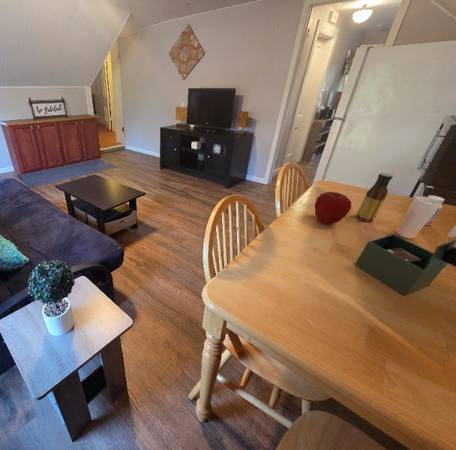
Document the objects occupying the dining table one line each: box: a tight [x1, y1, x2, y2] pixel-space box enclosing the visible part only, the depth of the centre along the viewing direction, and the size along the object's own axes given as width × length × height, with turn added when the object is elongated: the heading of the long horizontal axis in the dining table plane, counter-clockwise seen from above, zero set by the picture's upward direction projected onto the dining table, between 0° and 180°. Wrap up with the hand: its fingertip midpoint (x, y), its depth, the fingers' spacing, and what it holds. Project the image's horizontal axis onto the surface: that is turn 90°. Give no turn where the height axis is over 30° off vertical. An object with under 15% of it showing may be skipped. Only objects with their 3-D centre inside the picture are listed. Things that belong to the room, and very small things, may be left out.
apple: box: [314, 191, 352, 225], centre depth 98 cm, size 12×12×13 cm
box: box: [387, 248, 422, 266], centre depth 73 cm, size 6×6×7 cm
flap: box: [425, 239, 456, 269], centre depth 63 cm, size 7×12×1 cm
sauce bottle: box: [356, 172, 393, 223], centre depth 99 cm, size 7×6×20 cm
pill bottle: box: [424, 195, 445, 226], centre depth 99 cm, size 6×6×11 cm
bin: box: [354, 233, 449, 297], centre depth 72 cm, size 14×12×9 cm
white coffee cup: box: [396, 195, 442, 240], centre depth 90 cm, size 7×7×15 cm
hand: (450, 262), depth 62 cm, fingers closed
